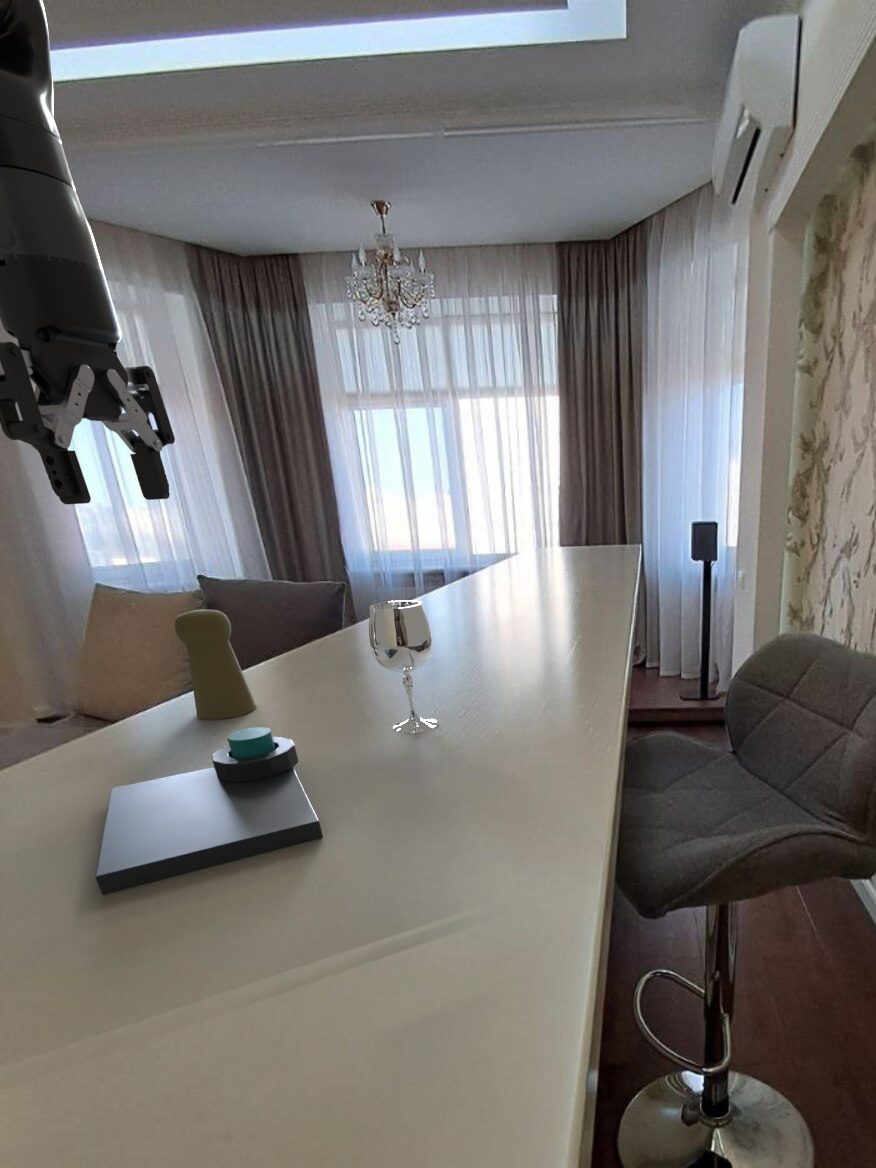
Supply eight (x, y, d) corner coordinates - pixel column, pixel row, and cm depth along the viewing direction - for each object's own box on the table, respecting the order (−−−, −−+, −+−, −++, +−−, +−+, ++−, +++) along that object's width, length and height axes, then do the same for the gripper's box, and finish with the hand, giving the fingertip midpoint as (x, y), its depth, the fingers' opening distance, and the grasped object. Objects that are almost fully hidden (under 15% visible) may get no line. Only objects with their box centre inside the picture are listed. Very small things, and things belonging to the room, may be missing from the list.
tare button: (278, 755, 55) (272, 734, 54) (234, 764, 54) (228, 743, 53) (273, 744, 58) (267, 724, 57) (231, 752, 56) (225, 732, 56)
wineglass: (423, 738, 65) (403, 610, 60) (374, 733, 67) (350, 609, 62) (455, 719, 70) (438, 600, 65) (408, 715, 72) (388, 599, 67)
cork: (227, 721, 73) (196, 616, 68) (184, 717, 75) (152, 615, 70) (268, 704, 78) (243, 606, 73) (227, 701, 80) (200, 605, 75)
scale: (331, 836, 48) (322, 797, 46) (102, 896, 42) (84, 854, 40) (295, 763, 61) (287, 731, 59) (117, 801, 55) (104, 766, 53)
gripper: (81, 291, 58) (145, 500, 64) (-102, 241, 45) (3, 507, 52) (158, 282, 56) (215, 496, 63) (-8, 227, 44) (86, 503, 51)
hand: (119, 501), depth 57 cm, fingers open, 8 cm apart
